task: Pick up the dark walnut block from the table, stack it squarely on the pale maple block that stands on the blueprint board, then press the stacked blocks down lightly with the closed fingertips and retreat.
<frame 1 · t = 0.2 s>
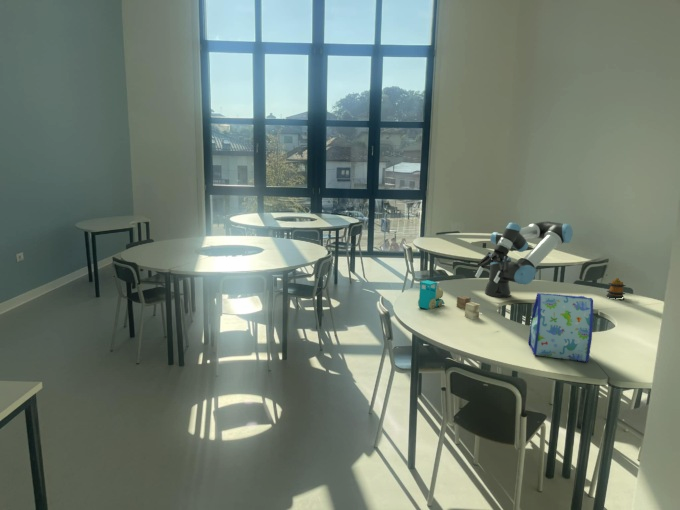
hand: (485, 279, 263), 16 cm above the table, tool tilted 35°, fingers open, 13 cm apart
orange tiered tower: (614, 297, 295), on the table
lunch bag: (556, 354, 201), on the table
toy train: (431, 307, 262), on the table
walnut block: (462, 309, 259), on the table
blueprint board: (471, 317, 245), on the table
maple block: (471, 316, 242), point 1 cm above the table, touching blueprint board
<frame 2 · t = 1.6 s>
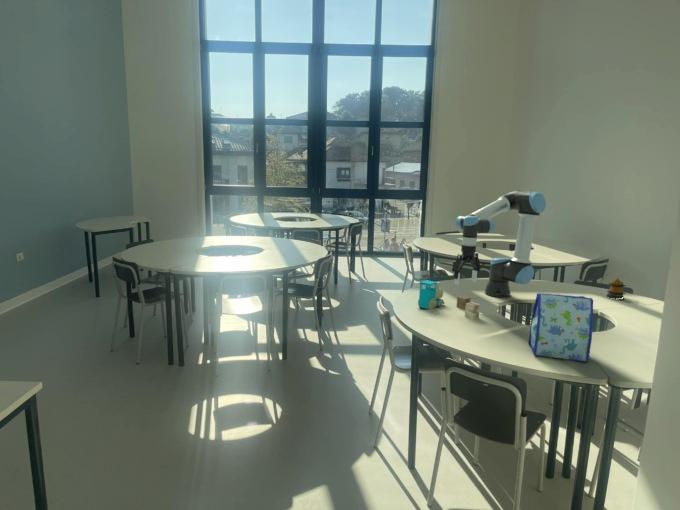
hand: (465, 283, 256), 15 cm above the table, tool pointing down, fingers open, 13 cm apart
nothing on the table moved.
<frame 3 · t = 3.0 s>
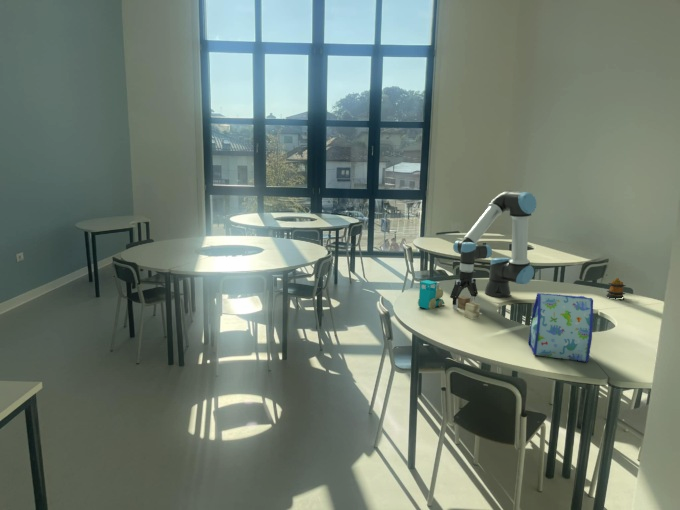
hand: (462, 308, 259), 0 cm above the table, tool pointing down, fingers open, 12 cm apart
nothing on the table moved.
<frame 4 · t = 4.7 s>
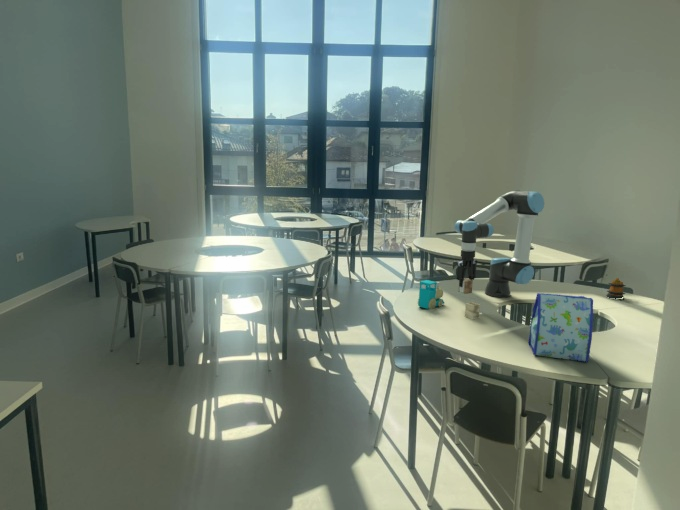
hand: (465, 291, 257), 10 cm above the table, tool pointing down, fingers closed on walnut block, 5 cm apart
walnut block: (465, 292, 257), point 10 cm above the table, touching gripper
everything else where it was.
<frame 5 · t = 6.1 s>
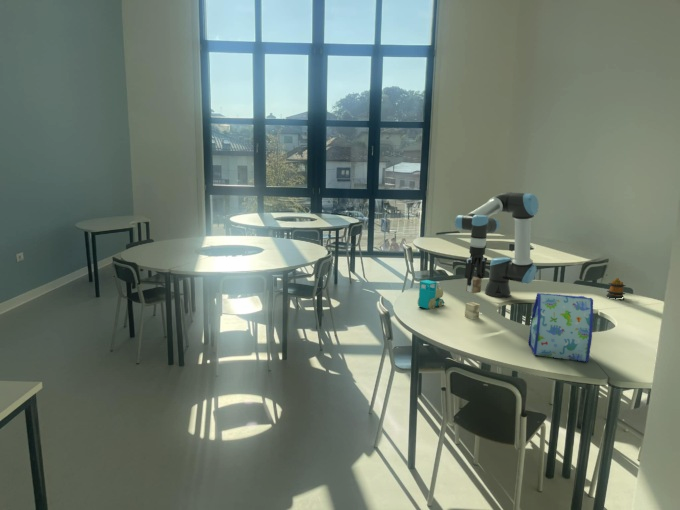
hand: (473, 290, 240), 15 cm above the table, tool pointing down, fingers closed on walnut block, 5 cm apart
walnut block: (473, 291, 240), point 15 cm above the table, touching gripper
everything else where it was.
when the fingers open (9 cm above the table, at t = 7.6 s): walnut block stays where it is, resting on maple block.
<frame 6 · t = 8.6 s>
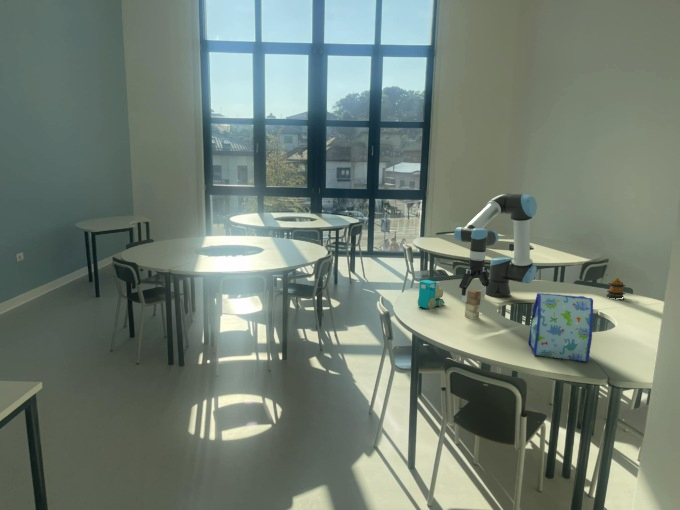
hand: (473, 299, 241), 11 cm above the table, tool pointing down, fingers open, 13 cm apart
walnut block: (472, 303, 241), point 8 cm above the table, touching maple block
maple block: (471, 316, 242), point 1 cm above the table, touching blueprint board, walnut block
everything else where it was.
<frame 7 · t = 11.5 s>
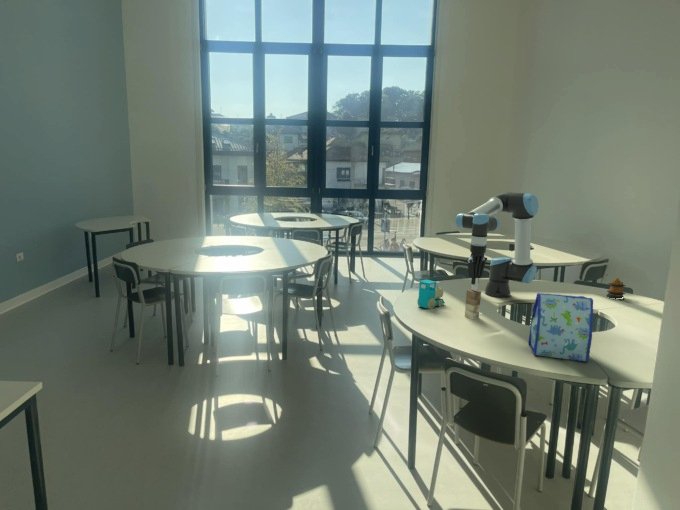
hand: (474, 290, 240), 16 cm above the table, tool pointing down, fingers closed
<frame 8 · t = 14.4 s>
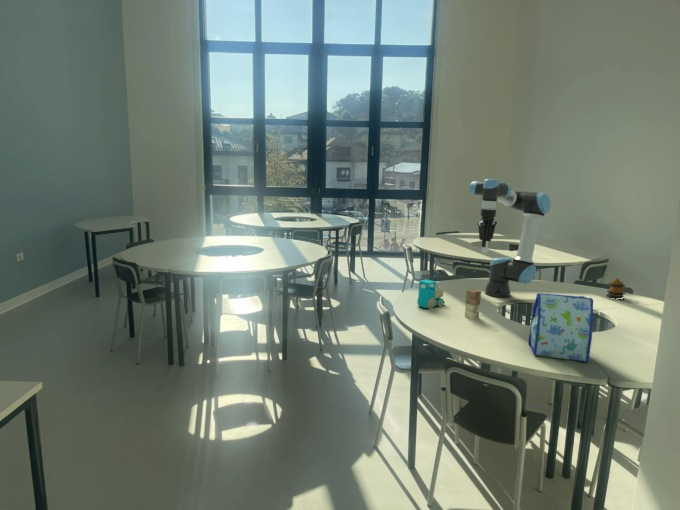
hand: (484, 252, 251), 32 cm above the table, tool pointing down, fingers closed
at the end: walnut block 0.0 cm off-centre on the maple block, point 7.0 cm above the maple block's base; walnut block tilted 0°; maple block moved 0.0 cm from its start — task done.
